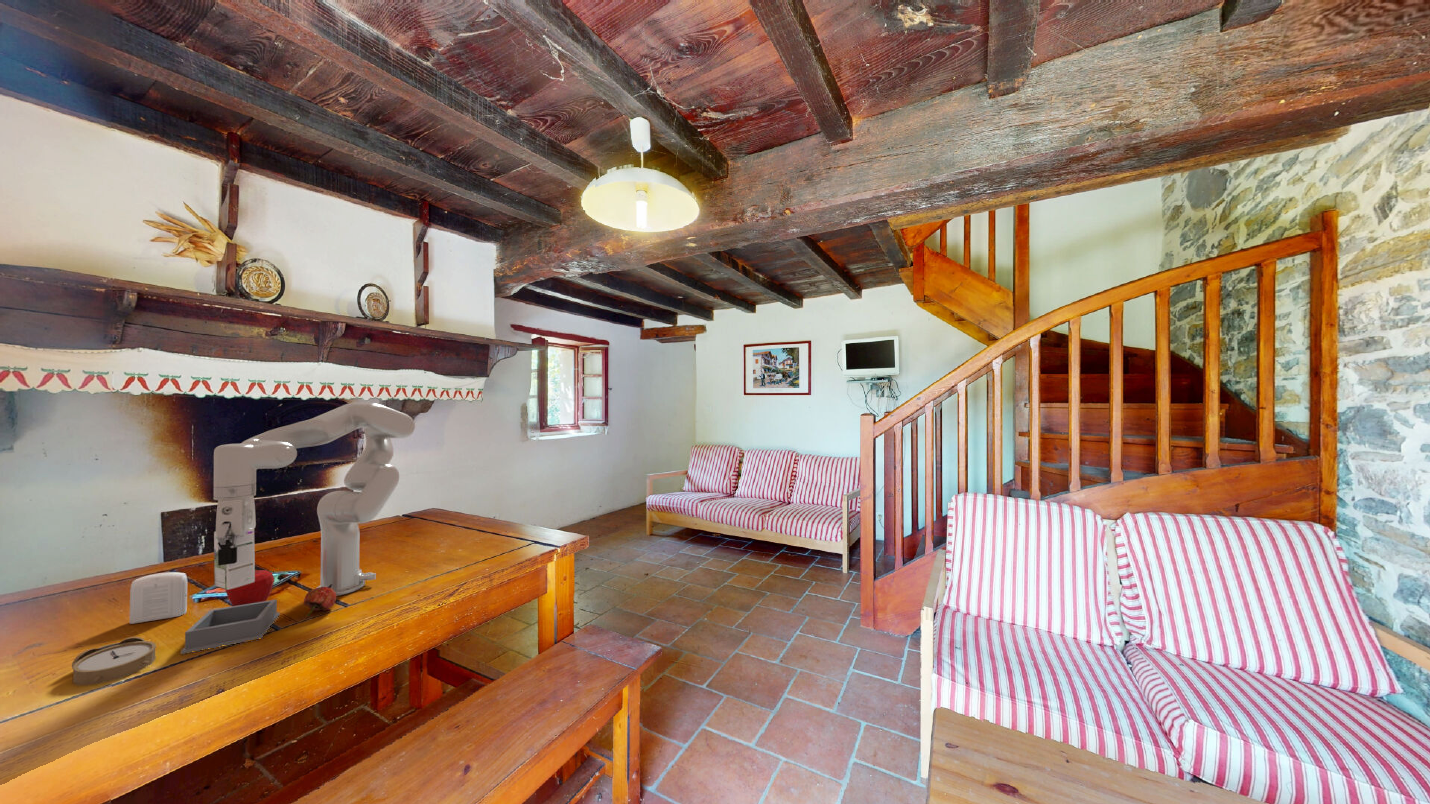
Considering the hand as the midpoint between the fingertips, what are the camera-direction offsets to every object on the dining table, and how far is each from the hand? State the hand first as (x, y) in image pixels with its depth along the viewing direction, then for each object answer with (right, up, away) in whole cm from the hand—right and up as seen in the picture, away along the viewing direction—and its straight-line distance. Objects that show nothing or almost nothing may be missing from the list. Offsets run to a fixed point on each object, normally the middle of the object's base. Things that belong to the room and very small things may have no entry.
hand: (234, 558), depth 116 cm
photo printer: (-29, -19, +7) cm, 36 cm away
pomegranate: (+11, -20, +13) cm, 26 cm away
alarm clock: (-12, -20, -15) cm, 28 cm away
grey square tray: (0, -20, 0) cm, 20 cm away
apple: (-11, -20, +15) cm, 27 cm away
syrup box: (0, -7, 0) cm, 7 cm away
